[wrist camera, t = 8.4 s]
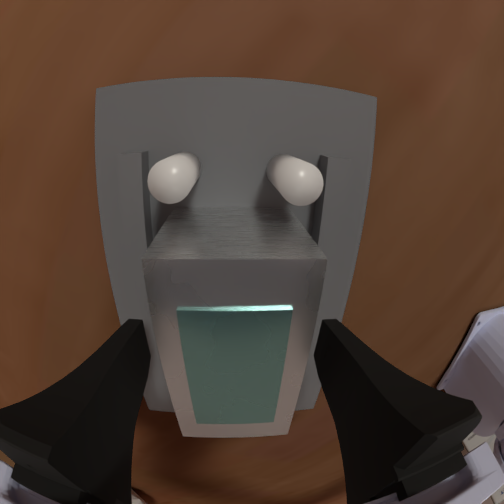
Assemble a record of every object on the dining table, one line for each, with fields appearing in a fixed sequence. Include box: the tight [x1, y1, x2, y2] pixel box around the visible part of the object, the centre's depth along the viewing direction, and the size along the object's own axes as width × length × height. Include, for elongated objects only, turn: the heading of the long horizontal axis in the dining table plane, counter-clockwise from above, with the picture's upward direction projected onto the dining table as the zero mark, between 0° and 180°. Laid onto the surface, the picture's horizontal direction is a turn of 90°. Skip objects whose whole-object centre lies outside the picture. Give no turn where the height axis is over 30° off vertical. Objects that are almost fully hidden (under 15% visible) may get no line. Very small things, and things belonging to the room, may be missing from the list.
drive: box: [142, 207, 328, 438], centre depth 11 cm, size 9×5×5 cm, turn 178°
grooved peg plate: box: [95, 77, 377, 412], centre depth 12 cm, size 20×12×4 cm, turn 177°
